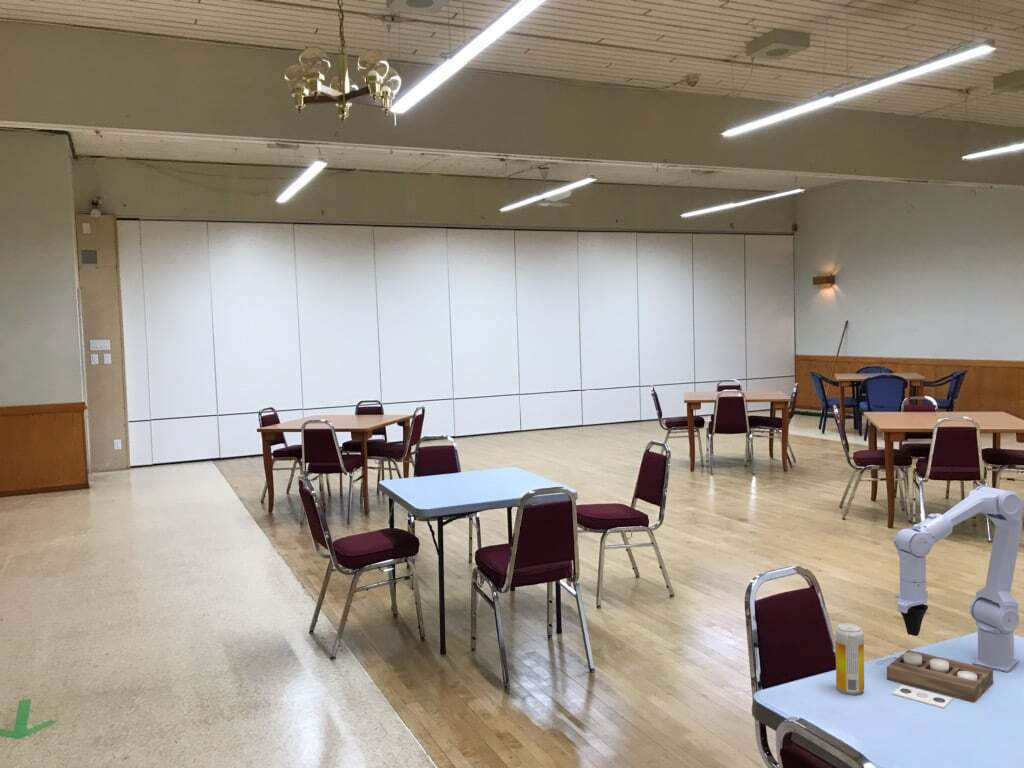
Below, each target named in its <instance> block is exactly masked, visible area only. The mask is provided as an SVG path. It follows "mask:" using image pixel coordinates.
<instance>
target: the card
mask: <svg viewBox="0 0 1024 768" xmlns="http://www.w3.org/2000/svg"><path fill="white" fill-rule="evenodd" d="M891 694H892V695H894V696H896V697H900V698H905V699H908V700H910V701H911V700H912V701H915V702H918V703H922V704H925V705H930V706H933V707H937V708H941V709H945V708H946V707H947V706H948V705H949V704H950V703H951V702H953V700H954V699H953V698H954V697H951V696H947V695H943V694H940V693H936V692H932V691H928V690H924V689H921V688H917V687H913V686H909V685H906V684H901V685H900V686H899V687H898V688H896V689H895V690H894V691H892V693H891Z"/></svg>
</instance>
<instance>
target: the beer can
mask: <svg viewBox="0 0 1024 768" xmlns="http://www.w3.org/2000/svg"><path fill="white" fill-rule="evenodd" d="M864 634H865V633H864V630H863V628H862V626H860V625H858V624H855V623H848V622H846V623H844V622H843V623H838V625H836V628H835V679H836V680H835V684H836V688H838V690H839V691H840V693H842V694H843V693H844V694H846V695H851V696H853V695H860V693H861V694H862V692H863V691H864V690H865V640H864V638H865V637H864Z"/></svg>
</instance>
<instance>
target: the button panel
mask: <svg viewBox="0 0 1024 768" xmlns="http://www.w3.org/2000/svg"><path fill="white" fill-rule="evenodd" d="M908 652H912V653H917V654H920V655H921V656H922V666H921V667H917V666H913V665H909V664H904V653H908ZM904 653H902V654H901V655H900V656H898V658H896V659H894V660H893V661H892V662H891V663H889V664H888V665H886V680H888V681H892V682H895V683H899V684H901V685H905V686H909V687H913V688H916V689H920V690H924V691H928V692H932V693H935V694H939V695H943V696H947V697H951V698H956V699H960V700H963V701H967V702H971V703H975V702H977V701H978V699H980V697H981V696H982V695H983V694H985V692H986V691H987V690H988V689H989V688H990V687H991V686H992V685H993V684H994V669H992V668H988V667H984V666H980V665H975V664H972V663H971V664H970V663H965V662H962V661H957V660H953V659H950V658H945V657H940V656H937V655H932V654H927V653H924V652H919V651H915V650H911V649H908V650H906V651H904ZM931 659H943V660H946V661H948V662H949V673H948V674H945V673H941V672H937V671H933V670H930V660H931ZM959 671H969V672H973V673H975V674H976V675H977V680H976V681H974V680H969V679H965V678H961V677H957V672H959Z"/></svg>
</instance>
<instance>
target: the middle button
mask: <svg viewBox="0 0 1024 768" xmlns="http://www.w3.org/2000/svg"><path fill="white" fill-rule="evenodd" d="M930 670H933V671H937V672H941V673H945V674H948V673H949V662H948V661H946V660H943V659H931V660H930Z"/></svg>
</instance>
